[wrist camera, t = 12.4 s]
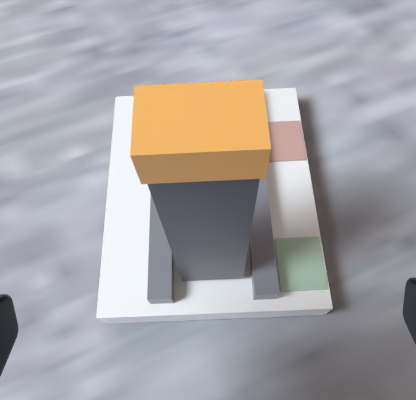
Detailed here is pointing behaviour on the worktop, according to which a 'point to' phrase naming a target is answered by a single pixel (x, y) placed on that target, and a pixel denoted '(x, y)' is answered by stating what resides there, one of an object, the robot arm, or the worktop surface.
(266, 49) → the worktop surface
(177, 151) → the handle
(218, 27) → the worktop surface
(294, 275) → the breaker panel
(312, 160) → the worktop surface
